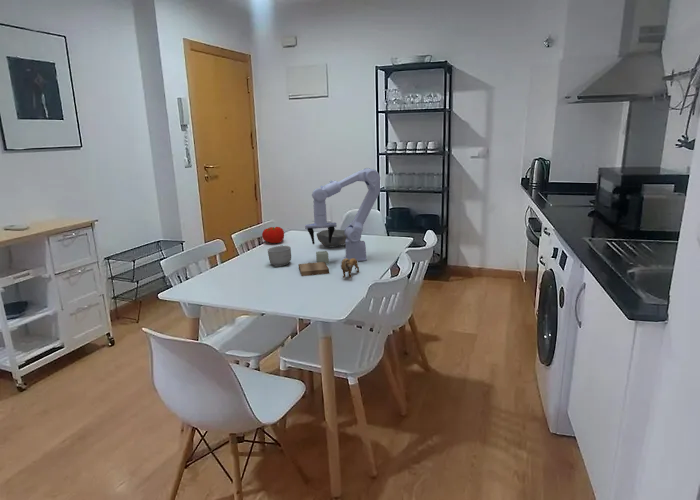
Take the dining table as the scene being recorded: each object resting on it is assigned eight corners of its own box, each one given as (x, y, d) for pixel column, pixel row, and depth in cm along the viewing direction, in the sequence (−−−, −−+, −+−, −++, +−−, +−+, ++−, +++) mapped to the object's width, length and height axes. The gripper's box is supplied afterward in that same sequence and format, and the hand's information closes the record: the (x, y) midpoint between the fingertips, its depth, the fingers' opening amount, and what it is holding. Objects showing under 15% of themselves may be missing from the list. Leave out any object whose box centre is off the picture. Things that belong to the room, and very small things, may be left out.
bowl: (356, 244, 249) (356, 230, 247) (338, 252, 235) (338, 236, 233) (329, 241, 259) (329, 227, 257) (310, 248, 244) (310, 233, 242)
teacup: (287, 268, 210) (286, 251, 208) (265, 267, 213) (263, 250, 211) (296, 259, 224) (295, 243, 222) (275, 259, 226) (274, 243, 224)
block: (326, 260, 220) (326, 250, 219) (328, 263, 215) (328, 253, 214) (316, 261, 219) (316, 251, 218) (318, 264, 214) (317, 254, 213)
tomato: (266, 239, 267) (265, 225, 265) (287, 239, 265) (286, 224, 263) (259, 245, 254) (257, 230, 252) (281, 245, 252) (280, 230, 250)
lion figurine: (351, 281, 189) (350, 260, 187) (339, 280, 191) (338, 259, 188) (360, 270, 203) (360, 250, 200) (349, 269, 204) (348, 250, 202)
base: (324, 265, 211) (324, 261, 211) (329, 273, 200) (329, 269, 200) (298, 268, 209) (298, 264, 209) (301, 276, 198) (301, 271, 197)
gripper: (334, 212, 217) (335, 240, 220) (303, 214, 214) (305, 242, 217) (336, 214, 210) (338, 243, 213) (305, 216, 207) (307, 246, 210)
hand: (321, 243), depth 215 cm, fingers open, 7 cm apart
